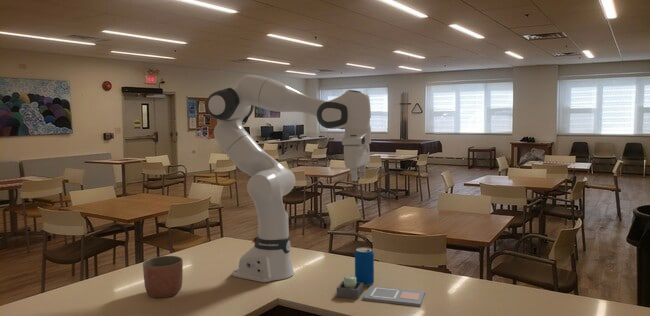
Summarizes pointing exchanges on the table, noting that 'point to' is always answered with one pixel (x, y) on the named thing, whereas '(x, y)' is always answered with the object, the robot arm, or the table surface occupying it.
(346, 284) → the button
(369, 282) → the beverage can
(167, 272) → the planter
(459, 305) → the table surface
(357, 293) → the button housing
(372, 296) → the picture board
